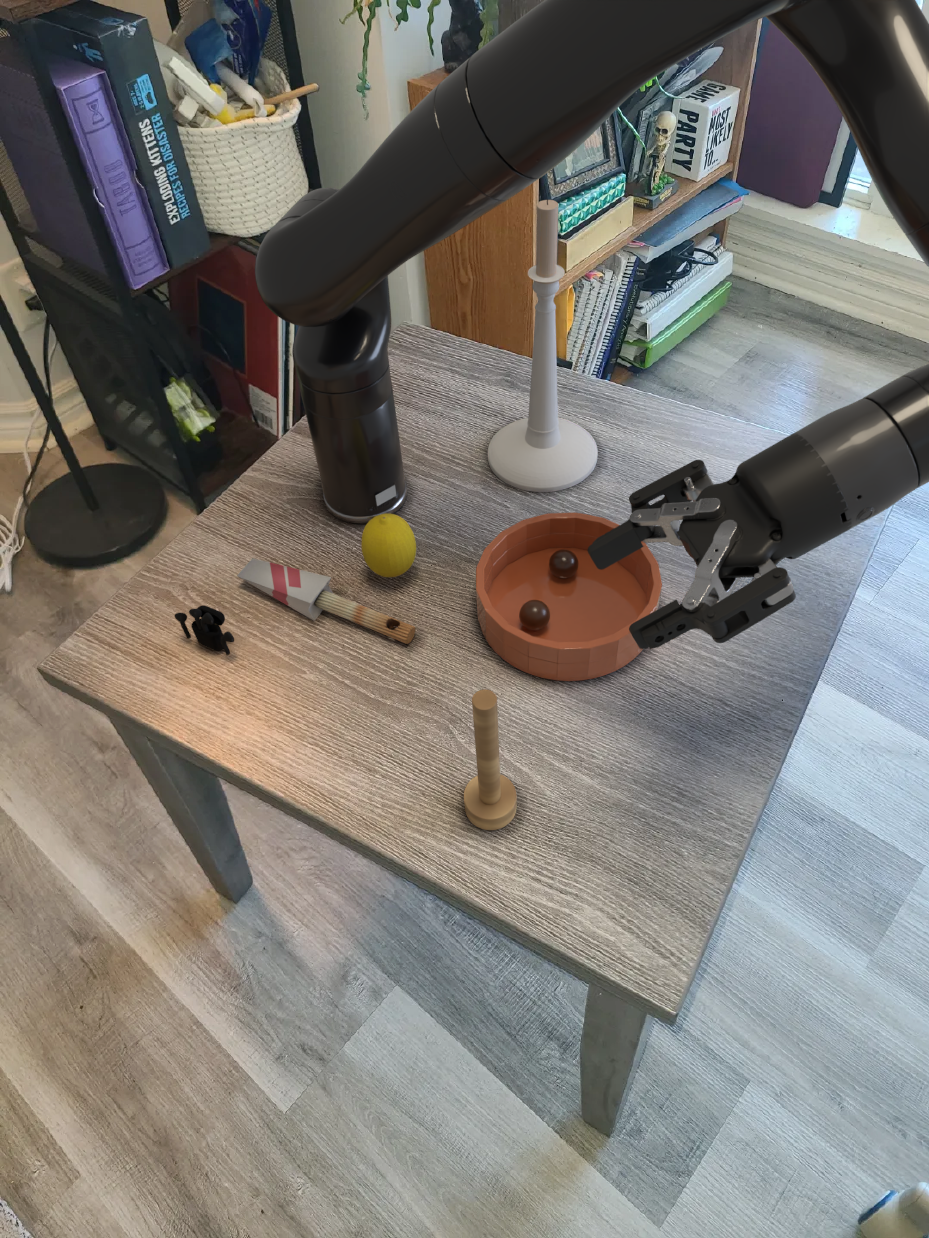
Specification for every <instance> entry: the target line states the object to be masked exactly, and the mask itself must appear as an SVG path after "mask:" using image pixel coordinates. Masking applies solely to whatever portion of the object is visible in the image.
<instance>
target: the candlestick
mask: <svg viewBox="0 0 929 1238" xmlns="http://www.w3.org/2000/svg"><path fill="white" fill-rule="evenodd" d="M558 231H559V203H558V202H557V201H556V200H553V199H543V200H540V201H538V202H537V203H536V235H535V236H536V243H535V245H536V247H535V248H536V249H535V252H536V253H535V265H533V266H531V267H529V269H528V270H527V276H528V277H529V279H530V280H532V281H533V283H532V290H533V292H534V293H535V294H536V298H537V303H535V305H534V309H535V314H534V326H533V327H534V329H533V341H532V342H533V343H532V357H531V360H532V361H531V373H530V386H529V401H528V416H527V417H523V418H521V419H518V420H515V421H512V422H510V423H508V424H507V425H505V426H503V427H502V428H501V429H499V430H498V431H497V432H496V433H495V434H494V435H493V436H492V438H491V439H490V441H489V444H488V447H487V461H488V465H489V468H490V470H491V471H492V472H493V474H494V475H495V476H496V477H497V478H498V479H499V480H500V481H502V482H504V483H505V484H507V485H509V486H511V487H513V488H516V489H519V490H523V491H528V492H533V493H534V492H535V493H551V492H552V493H553V492H558V491H562V490H566V489H569V488H571V487H572V488H573V487H574V486H576V485H578V484H580V483H581V482H583V481H584V480H586V479H587V478H588V477H589V476H590V475H591V474H592V472H593V471H594V469H595V468H596V465H597V462H598V455H599V451H598V445H597V442H596V440H595V439H594V437H593V436H592V434H591V433H590V432H589V431H588V430H587V429H585V428H584V427H583V426H581V425H580V424H577V423H576V422H573V421H572V420H568V419H565V418H562V417H559V406H558V405H559V403H558V402H559V401H558V398H559V397H558V368H557V367H558V365H557V363H558V361H557V360H558V359H557V328H556V327H557V326H556V309H557V305H556V304H555V301H554V299H555V296H556V293H558V291H559V289H560V282H559V281H560V280H561V279H563V277H564V276H565V274H566V271H565V269H564V268H563V267H562V266H561V265H559V264H558V263H557V262H558V236H559V235H558Z"/></svg>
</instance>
